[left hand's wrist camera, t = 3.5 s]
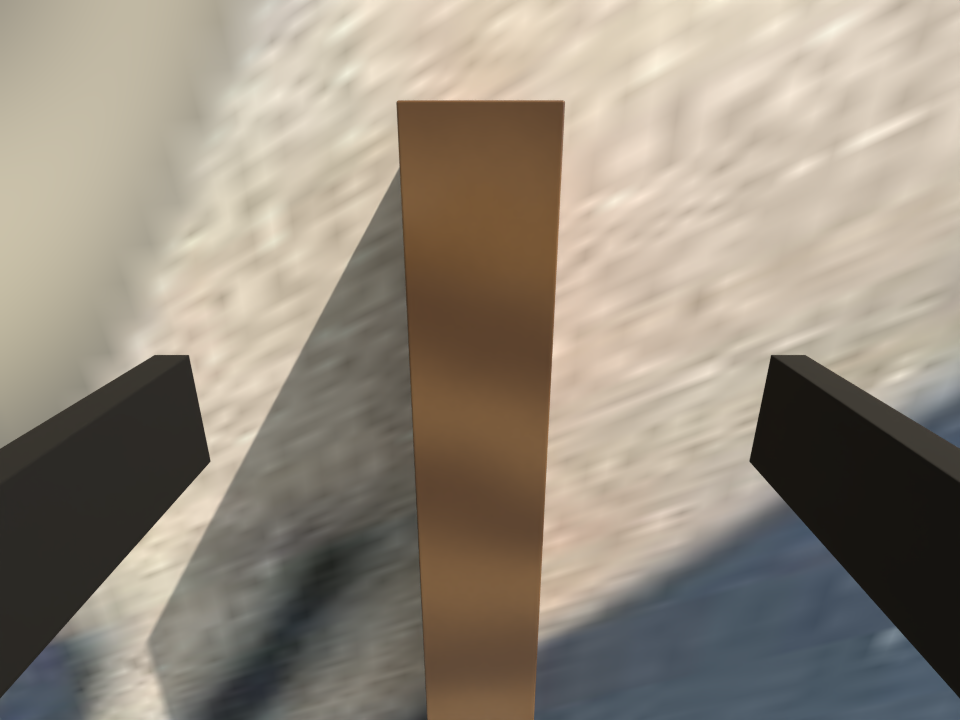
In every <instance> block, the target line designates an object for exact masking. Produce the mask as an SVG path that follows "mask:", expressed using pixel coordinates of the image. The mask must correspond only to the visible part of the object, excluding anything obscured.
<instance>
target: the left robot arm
mask: <svg viewBox="0 0 960 720" xmlns="http://www.w3.org/2000/svg"><path fill="white" fill-rule="evenodd" d="M209 463H210V456H209V452H208V447H207V442H206V437H205V432H204V427H203V422H202V417H201V412H200V408H199V403H198V398H197V393H196V388H195V383H194V378H193V373H192V369H191V364H190V359H189V355H154V356H153V357H151V358H149V359H148V360H146V361H144V362H143V363H141V364H139V365H138V366H136V367H134V368H133V369H131V370H129V371H128V372H126V373H125V374H123V375H121V376H120V377H118V378H116V379H115V380H113V381H111V382H110V383H108V384H106V385H105V386H103V387H101V388H100V389H98V390H96V391H95V392H93V393H92V394H90V395H88V396H87V397H85V398H83V399H82V400H80V401H78V402H77V403H75V404H73V405H72V406H70V407H68V408H67V409H65V410H64V411H62V412H60V413H59V414H57V415H55V416H54V417H52V418H50V419H49V420H47V421H45V422H44V423H42V424H40V425H39V426H37V427H35V428H34V429H32V430H30V431H29V432H27V433H26V434H24V435H22V436H21V437H19V438H17V439H16V440H14V441H12V442H11V443H9V444H7V445H6V446H4V447H3V448H1V449H0V698H1V697H2V696H3V695H4V693H5V692H6V691H7V690H8V689H9V688H10V687H11V686H12V684H13V683H14V682H15V681H16V680H17V679H18V678H19V677H20V675H21V674H22V673H23V672H24V671H25V670H26V669H27V668H28V666H29V665H30V664H31V663H32V662H33V661H34V660H35V658H36V657H37V656H38V655H39V654H40V653H41V652H42V651H43V649H44V648H45V647H46V646H47V645H48V644H49V643H50V642H51V640H52V639H53V638H54V637H55V636H56V635H57V634H58V633H59V631H60V630H61V629H62V628H63V627H64V626H65V625H66V624H67V622H68V621H69V620H70V619H71V618H72V617H73V616H74V615H75V613H76V612H77V611H78V610H79V609H80V608H81V607H82V606H83V604H84V603H85V602H86V601H87V600H88V599H89V598H90V597H91V595H92V594H93V593H94V592H95V591H96V590H97V589H98V588H99V586H100V585H101V584H102V583H103V582H104V581H105V580H106V579H107V577H108V576H109V575H110V574H111V573H112V572H113V571H114V570H115V568H116V567H117V566H118V565H119V564H120V563H121V562H122V561H123V559H124V558H125V557H126V556H127V555H128V554H129V553H130V552H131V550H132V549H133V548H134V547H135V546H136V545H137V544H138V543H139V541H140V540H141V539H142V538H143V537H144V536H145V535H146V534H147V532H148V531H149V530H150V529H151V528H152V527H153V526H154V525H155V523H156V522H157V521H158V520H159V519H160V518H161V517H162V516H163V514H164V513H165V512H166V511H167V510H168V509H169V508H170V506H171V505H172V504H173V503H174V502H175V501H176V500H177V499H178V497H179V496H180V495H181V494H182V493H183V492H184V491H185V490H186V488H187V487H188V486H189V485H190V484H191V483H192V482H193V481H194V479H195V478H196V477H197V476H198V475H199V474H200V473H201V472H202V470H203V469H204V468H205V467H206V466H207V465H208V464H209ZM750 463H751V464H752V465H753V466H754V467H755V468H756V469H757V470H758V472H759V473H760V474H761V475H762V476H763V477H764V478H765V479H766V481H767V482H768V483H769V484H770V485H771V486H772V487H773V488H774V490H775V491H776V492H777V493H778V494H779V495H780V496H781V497H782V499H783V500H784V501H785V502H786V503H787V504H788V505H789V506H790V508H791V509H792V510H793V511H794V512H795V513H796V514H797V516H798V517H799V518H800V519H801V520H802V521H803V522H804V523H805V525H806V526H807V527H808V528H809V529H810V530H811V531H812V532H813V534H814V535H815V536H816V537H817V538H818V539H819V540H820V541H821V543H822V544H823V545H824V546H825V547H826V548H827V549H828V550H829V552H830V553H831V554H832V555H833V556H834V557H835V558H836V559H837V561H838V562H839V563H840V564H841V565H842V566H843V567H844V568H845V570H846V571H847V572H848V573H849V574H850V575H851V576H852V577H853V579H854V580H855V581H856V582H857V583H858V584H859V585H860V586H861V588H862V589H863V590H864V591H865V592H866V593H867V594H868V595H869V597H870V598H871V599H872V600H873V601H874V602H875V603H876V604H877V606H878V607H879V608H880V609H881V610H882V611H883V612H884V613H885V615H886V616H887V617H888V618H889V619H890V620H891V621H892V622H893V624H894V625H895V626H896V627H897V628H898V629H899V630H900V631H901V633H902V634H903V635H904V636H905V637H906V638H907V639H908V640H909V642H910V643H911V644H912V645H913V646H914V647H915V648H916V649H917V651H918V652H919V653H920V654H921V655H922V656H923V657H924V658H925V660H926V661H927V662H928V663H929V664H930V665H931V666H932V668H933V669H934V670H935V671H936V672H937V673H938V674H939V675H940V677H941V678H942V679H943V680H944V681H945V682H946V683H947V684H948V686H949V687H950V688H951V689H952V690H953V691H954V692H955V693H956V695H957V696H958V697H959V698H960V449H959V448H958V447H956V446H954V445H953V444H951V443H949V442H948V441H946V440H944V439H943V438H941V437H939V436H938V435H936V434H934V433H933V432H931V431H930V430H928V429H926V428H925V427H923V426H921V425H920V424H918V423H916V422H915V421H913V420H911V419H910V418H908V417H906V416H905V415H903V414H901V413H900V412H898V411H897V410H895V409H893V408H892V407H890V406H888V405H887V404H885V403H883V402H882V401H880V400H878V399H877V398H875V397H873V396H872V395H870V394H868V393H867V392H865V391H864V390H862V389H860V388H859V387H857V386H855V385H854V384H852V383H850V382H849V381H847V380H845V379H844V378H842V377H840V376H839V375H837V374H835V373H834V372H832V371H831V370H829V369H827V368H826V367H824V366H822V365H821V364H819V363H817V362H816V361H814V360H812V359H811V358H809V357H807V356H806V355H771V359H770V364H769V369H768V373H767V378H766V383H765V388H764V393H763V398H762V403H761V408H760V412H759V417H758V422H757V427H756V432H755V437H754V442H753V447H752V452H751V456H750Z"/></svg>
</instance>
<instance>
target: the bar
mask: <svg viewBox="0 0 960 720" xmlns="http://www.w3.org/2000/svg"><path fill="white" fill-rule="evenodd" d="M564 112H565V101H563V100H488V101H397V123H398V143H399V163H400V183H401V203H402V223H403V243H404V263H405V283H406V303H407V323H408V343H409V363H410V383H411V403H412V423H413V443H414V463H415V483H416V503H417V523H418V543H419V563H420V583H421V603H422V623H423V644H424V664H425V684H426V704H427V720H534V704H535V684H536V665H537V645H538V625H539V605H540V586H541V566H542V546H543V526H544V507H545V487H546V467H547V447H548V428H549V408H550V388H551V368H552V349H553V329H554V309H555V289H556V270H557V250H558V230H559V210H560V191H561V171H562V151H563V131H564Z"/></svg>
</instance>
